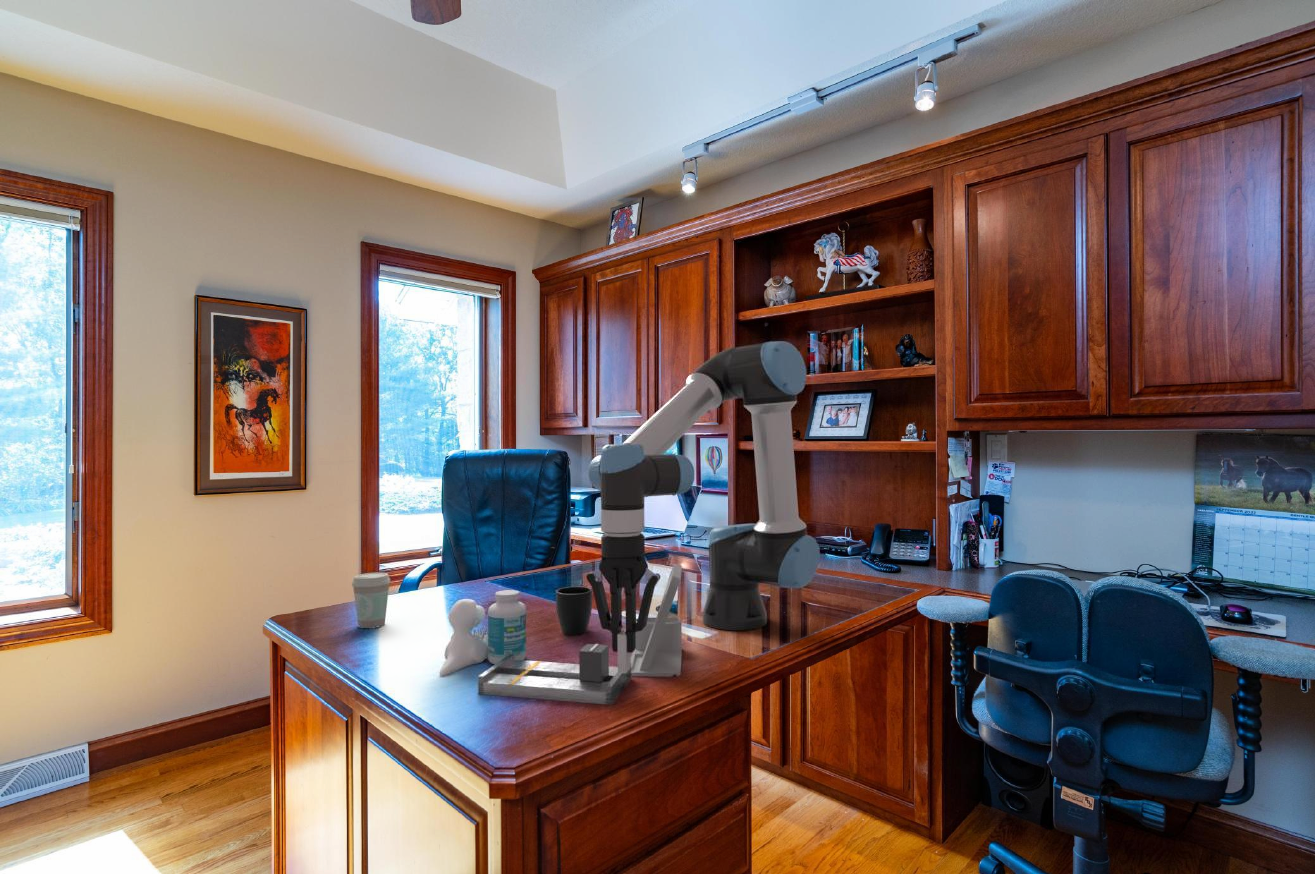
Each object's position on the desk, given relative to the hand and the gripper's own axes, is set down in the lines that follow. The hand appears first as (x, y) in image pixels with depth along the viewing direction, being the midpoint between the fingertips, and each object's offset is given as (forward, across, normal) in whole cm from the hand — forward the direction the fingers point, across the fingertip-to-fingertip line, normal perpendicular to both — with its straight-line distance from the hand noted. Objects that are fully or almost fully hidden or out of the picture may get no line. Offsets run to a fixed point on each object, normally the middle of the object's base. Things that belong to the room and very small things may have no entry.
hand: (624, 670), depth 111 cm
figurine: (+4, +36, -9) cm, 37 cm away
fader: (+2, +5, 0) cm, 6 cm away
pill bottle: (+4, +27, -11) cm, 30 cm away
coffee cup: (+4, +72, -28) cm, 77 cm away
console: (+4, +12, 0) cm, 13 cm away
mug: (+4, +22, -34) cm, 40 cm away
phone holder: (+4, -2, -17) cm, 17 cm away
